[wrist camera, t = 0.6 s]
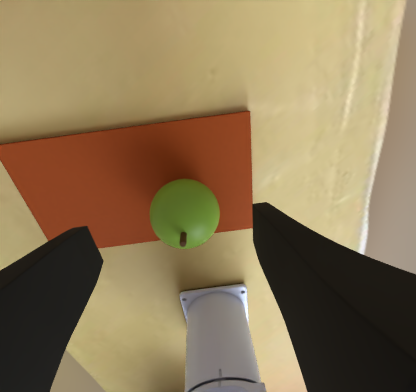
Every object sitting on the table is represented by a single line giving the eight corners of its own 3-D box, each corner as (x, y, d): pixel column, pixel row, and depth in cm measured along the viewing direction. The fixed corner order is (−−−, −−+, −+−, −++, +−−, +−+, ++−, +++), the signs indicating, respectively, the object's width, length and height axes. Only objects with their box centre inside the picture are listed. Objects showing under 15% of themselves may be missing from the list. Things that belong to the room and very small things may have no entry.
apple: (218, 217, 20) (228, 269, 14) (163, 224, 20) (150, 280, 14) (212, 164, 18) (221, 201, 12) (149, 172, 18) (127, 213, 12)
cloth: (252, 225, 21) (253, 228, 21) (58, 251, 22) (56, 254, 21) (249, 110, 16) (250, 111, 16) (-4, 144, 17) (-9, 145, 16)
